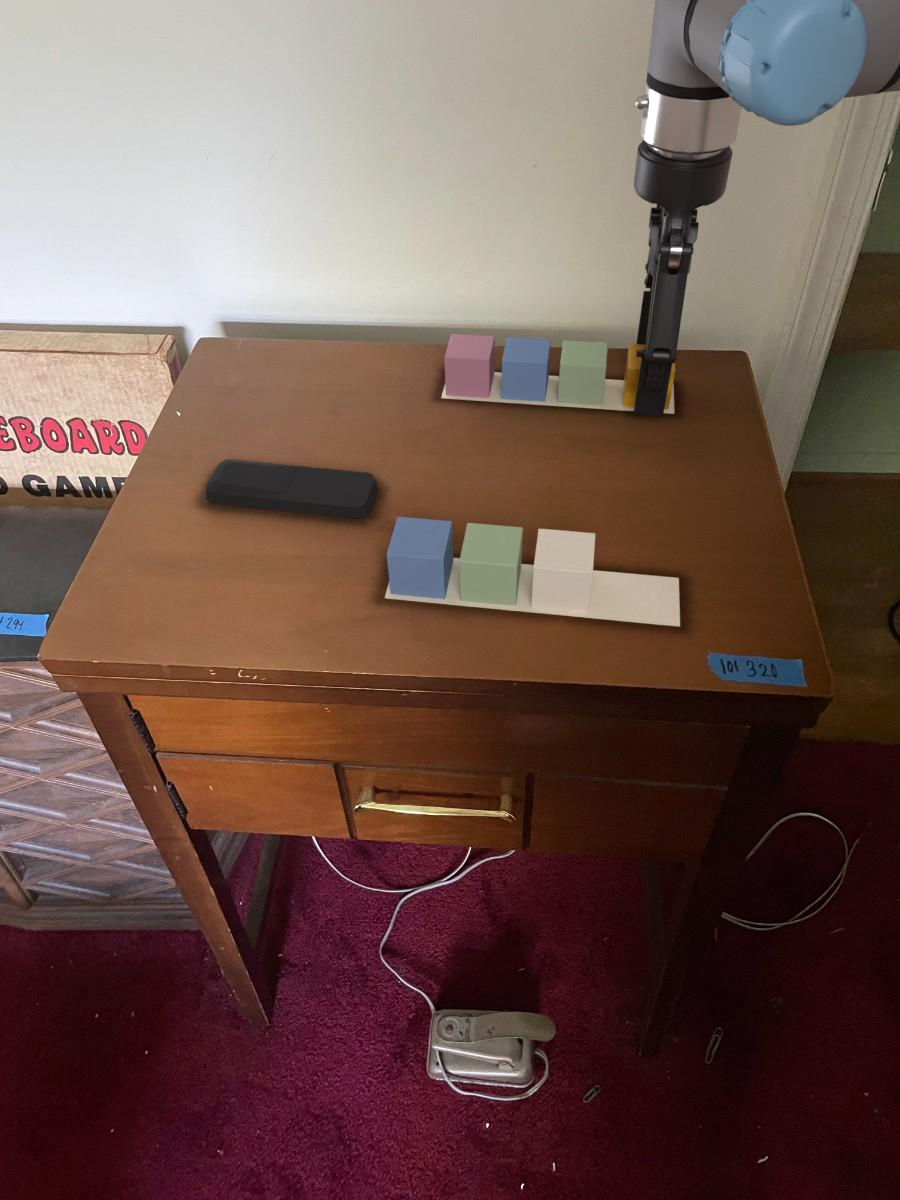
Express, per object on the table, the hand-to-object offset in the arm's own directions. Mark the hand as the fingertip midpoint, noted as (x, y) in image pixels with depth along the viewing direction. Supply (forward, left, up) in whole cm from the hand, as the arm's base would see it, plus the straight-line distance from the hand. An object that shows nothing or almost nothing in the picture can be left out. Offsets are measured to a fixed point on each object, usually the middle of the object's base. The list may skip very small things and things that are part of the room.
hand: (648, 382), depth 88 cm
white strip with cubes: (-9, +28, -2) cm, 30 cm away
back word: (+8, +5, -2) cm, 9 cm away
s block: (0, 0, -2) cm, 2 cm away
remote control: (+14, +34, -2) cm, 36 cm away
